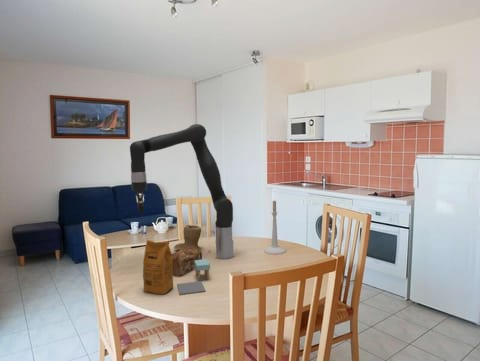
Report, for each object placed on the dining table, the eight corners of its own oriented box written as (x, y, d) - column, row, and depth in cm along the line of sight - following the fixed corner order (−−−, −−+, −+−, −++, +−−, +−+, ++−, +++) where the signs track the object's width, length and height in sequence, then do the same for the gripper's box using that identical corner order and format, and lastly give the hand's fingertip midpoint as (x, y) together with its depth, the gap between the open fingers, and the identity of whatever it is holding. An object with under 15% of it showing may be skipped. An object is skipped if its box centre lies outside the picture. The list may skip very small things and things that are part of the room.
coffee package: (153, 283, 163) (151, 236, 161) (176, 287, 158) (174, 238, 156) (139, 292, 154) (137, 242, 152) (163, 296, 149) (161, 245, 147)
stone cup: (206, 249, 213) (205, 224, 212) (193, 255, 203) (192, 229, 202) (186, 245, 221) (185, 222, 220) (173, 251, 211) (172, 226, 210)
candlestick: (280, 255, 199) (279, 202, 196) (259, 252, 205) (259, 201, 202) (289, 249, 210) (289, 199, 206) (269, 246, 216) (269, 197, 213)
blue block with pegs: (207, 273, 174) (206, 259, 173) (210, 279, 166) (209, 264, 165) (194, 275, 172) (194, 260, 171) (197, 281, 165) (196, 265, 164)
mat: (201, 282, 164) (201, 280, 163) (205, 291, 153) (205, 290, 153) (177, 285, 161) (176, 283, 161) (179, 295, 150) (179, 293, 150)
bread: (180, 277, 170) (179, 257, 169) (163, 273, 175) (162, 254, 174) (203, 265, 186) (202, 246, 185) (187, 262, 191) (186, 244, 190)
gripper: (147, 181, 176) (149, 214, 178) (145, 179, 190) (147, 209, 192) (131, 182, 174) (133, 215, 176) (130, 179, 188) (132, 210, 189)
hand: (140, 212), depth 184 cm, fingers open, 8 cm apart
